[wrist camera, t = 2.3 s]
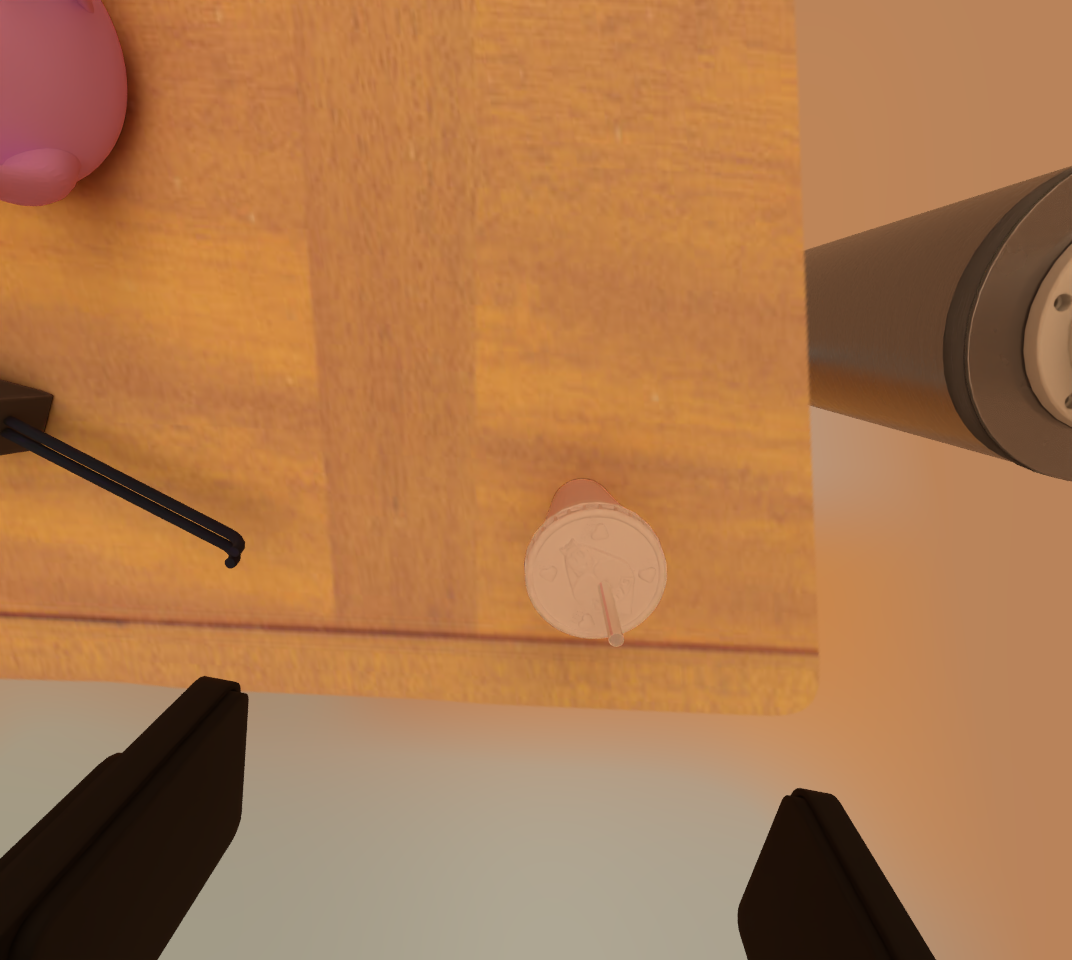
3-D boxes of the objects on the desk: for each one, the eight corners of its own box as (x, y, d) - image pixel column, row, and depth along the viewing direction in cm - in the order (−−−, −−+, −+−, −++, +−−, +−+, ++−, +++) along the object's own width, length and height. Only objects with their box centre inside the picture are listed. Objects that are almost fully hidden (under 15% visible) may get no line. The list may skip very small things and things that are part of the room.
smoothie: (576, 574, 34) (595, 733, 21) (508, 503, 33) (482, 622, 19) (655, 511, 33) (731, 636, 19) (587, 434, 32) (618, 511, 18)
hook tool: (-175, 339, 33) (265, 565, 33) (-270, 337, 29) (225, 590, 29) (-168, 280, 32) (286, 513, 32) (-264, 270, 28) (246, 532, 28)
